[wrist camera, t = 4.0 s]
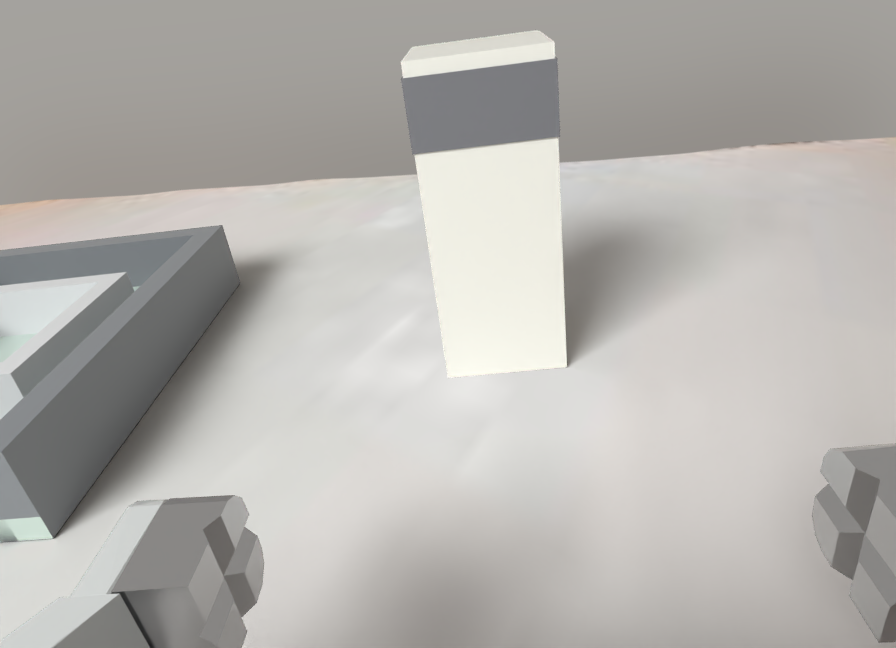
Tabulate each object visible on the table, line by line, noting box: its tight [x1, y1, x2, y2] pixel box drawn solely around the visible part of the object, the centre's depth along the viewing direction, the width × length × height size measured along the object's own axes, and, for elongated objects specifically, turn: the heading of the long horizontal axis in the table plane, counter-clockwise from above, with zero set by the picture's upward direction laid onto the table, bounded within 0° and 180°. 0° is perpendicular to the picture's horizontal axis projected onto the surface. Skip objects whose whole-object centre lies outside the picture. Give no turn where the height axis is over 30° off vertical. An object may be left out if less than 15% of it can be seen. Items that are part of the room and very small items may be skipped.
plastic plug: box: [401, 30, 567, 378], centre depth 20 cm, size 4×4×10 cm
